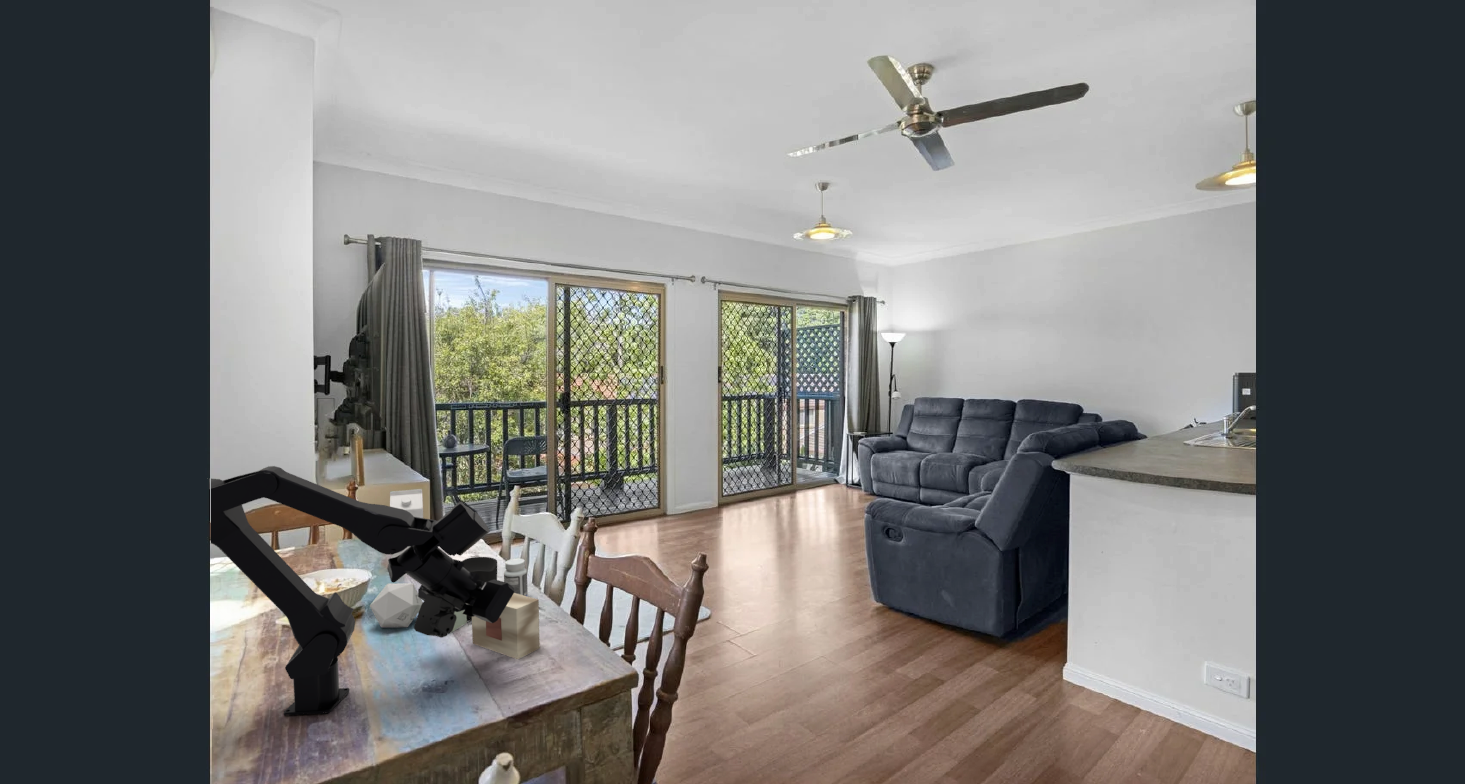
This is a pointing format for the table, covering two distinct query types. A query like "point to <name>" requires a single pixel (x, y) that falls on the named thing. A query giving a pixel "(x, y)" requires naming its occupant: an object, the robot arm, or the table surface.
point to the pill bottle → (516, 575)
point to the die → (396, 605)
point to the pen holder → (481, 569)
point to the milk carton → (407, 504)
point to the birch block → (511, 628)
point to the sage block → (460, 620)
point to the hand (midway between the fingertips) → (494, 615)
